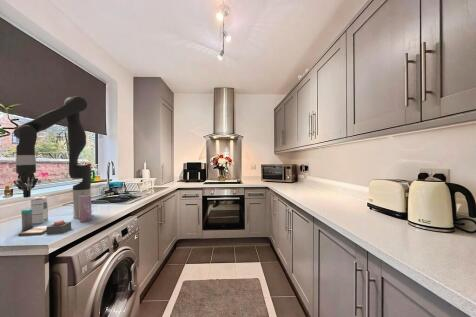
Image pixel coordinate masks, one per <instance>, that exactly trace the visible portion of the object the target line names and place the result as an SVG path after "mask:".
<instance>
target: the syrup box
mask: <svg viewBox="0 0 476 317" xmlns="http://www.w3.org/2000/svg"><path fill="white" fill-rule="evenodd" d="M48 208H49V207H48V196H35V197H33V198H30V209H32V211H33V212H32V221H33V224H41V223H45V222H46V221H48V220H49V214H48V213H49V211H48Z"/></svg>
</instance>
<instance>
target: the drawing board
mask: <svg viewBox="0 0 476 317" xmlns="http://www.w3.org/2000/svg"><path fill="white" fill-rule="evenodd" d="M47 226H48V225H38V226H35V227H33V228H32V229H29V230H27V231H22V232H20V233H18V234H17V236H18V237H22V236H25V237H26V236H42V235H44V234H47Z"/></svg>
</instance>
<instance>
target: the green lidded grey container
mask: <svg viewBox="0 0 476 317" xmlns="http://www.w3.org/2000/svg"><path fill="white" fill-rule="evenodd" d="M20 211H21V231H22V232H24V231H27V230H29V229H32V228H34V226H33V224H34V223H33V221H32V212H33V211H32V209H31V208H27V209H21V210H20Z"/></svg>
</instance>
